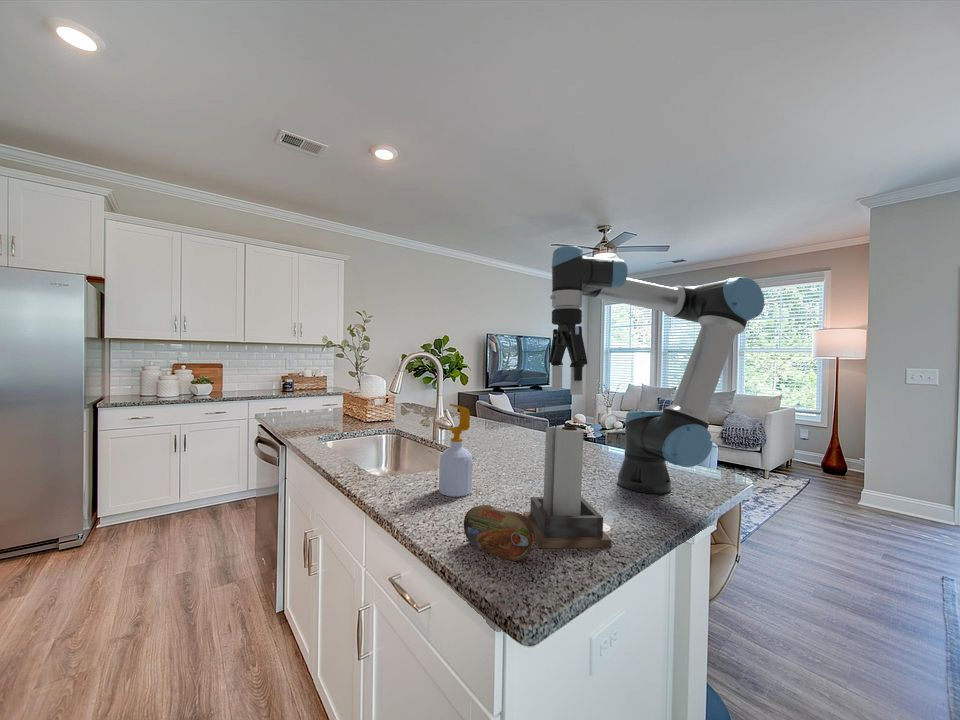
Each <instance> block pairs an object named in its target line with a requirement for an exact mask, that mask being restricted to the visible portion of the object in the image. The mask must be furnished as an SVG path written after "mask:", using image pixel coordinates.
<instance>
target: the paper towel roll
mask: <svg viewBox="0 0 960 720" xmlns="http://www.w3.org/2000/svg"><path fill="white" fill-rule="evenodd" d="M584 433H585V432H584V429H582V428H581V427H573V426H553V427H545V449H544V470H543V473H544V475H543V477H544V478H543V496H542V497H543V508H544V510H545V511H546V512H547V514H548V515H549V516H580V512H581V497H582V483H583V478H582V477H583V451H584Z"/></svg>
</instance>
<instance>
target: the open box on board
mask: <svg viewBox="0 0 960 720" xmlns="http://www.w3.org/2000/svg"><path fill="white" fill-rule="evenodd" d="M543 497H544V496H530V510H529V511H523V516H525V517H526V518H527V519H528V520H529V522H530V523H531V525H532V527H533V529H534V535H535V543H536V545H537V547H538V549H574V548H578V549H579V548H581V549H582V548H583V549H584V548H585V549H587V548H612V539H611V537H609V535H608V534H606V532H605V531H604V516H602V515H601V514H600V513H599V512H598V510H596V509H595V508H594V507H593V506H592V505H591V504H590V503H589V502H588V501H587V500H586V499H585V498H584V497H583V496H581V512H580V516H549V515H548V514H547V512H546V511H545V510H544V508H543Z"/></svg>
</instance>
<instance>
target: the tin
mask: <svg viewBox="0 0 960 720" xmlns="http://www.w3.org/2000/svg"><path fill="white" fill-rule="evenodd" d="M463 531H464V534H465V537H466V540H468V542H469V544H470V545H471V546H472V547H473V548H475V549H477V550H479V551H481V552H485V553H488V554H491V555H495V556H497V557H500V558H503V559H506V560H508V561H513V562H517V561H521V560H523V559H524V558H525V557H526V556H527V555H529V554H530V552H531V551H532V550H533V548H534V545H535V543H536V541H535V535H534V529H533V527H532V525H531V523H530V522H529V520H528V519H527V518H526V517H525V516H524V514H521V512H520V513H519V512H515V511H512V510H508V509H505V508H500V507H497V506H492V505H489V504H480V505H477V506H476V505H475V506H472V507H471V508H470V509H468V511H467V512H466V513H465V515H464V519H463Z"/></svg>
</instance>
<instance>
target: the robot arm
mask: <svg viewBox="0 0 960 720" xmlns="http://www.w3.org/2000/svg"><path fill="white" fill-rule="evenodd" d="M583 252H584V251H583V249H582V248H581V247H580V246H576V245H564V246H559V247H557V248H556V249H554V251H553V253H552V259H551V284H552V287H551V288H552V289H551V292H552V293H551V295H550V296H549V297H550V298H549V299H550V300H551V308H552V311H551V324H552V325H555V326H557V328H553V329H552V339H551V344H550V345H551V347H550V352H549V358H548V363H550V365H551V390H554V391H555V390H557V391H558V390H561V391H562V390H563V366H564V363H563V359H564V355H565V352H566V349H567V352H568V356H569V359H570V364H569V367H570V386H569V387H570V395H571V396H575V395H580V396H581V395H583V377H584V376H583V374H584V373H583V372H584V371H583V369H584V367H585V366H587V365H588V358H587V353H586V347H585V341H584V337H583V327H582V326H581V324H582V322H583V321H582V320H583V315H582V314H583V311H582V309H581V308H583V297H584V296H585V297H590V298H595V299H599V300H600V299H601V300H605V301H610V302H615V303H621V304H625V305H630V306H634V307H640V308H644V309H649V310H654V311H658V312H663V313H664V314H665V315H666V316H667V317H672V318H676V319H680V320H684V321H690V322H694V323H698V324H699V325H700V327H701V328H700V329H699V333H698V335H697V338H696V341H695V343H694V346H693V348H692V351H691V354H690V357H689V359H688V362H687V364H686V367H685V369H684V372H683V375H682V377H681V381H680V382H679V385H678V388H677V391H676V393H675V396H674V399H673V401H672V404H671V405H668V406H666V407H664V409H663V410H662V411H661V410H630V411H628V412H627V413H626V415H625V422H624V425H625V427H624V430H625V432H624V459H623V461H622V464H621V467H620V468H619V471H618V473H617V484H618V485H619V486H621V487H623V488H624V489H627V490H631V491H634V492H638V493H645V494H666V493H669V492H671V490H672V481H671V477H670V474H669V471H668V468H667V465H666V462H667V463H670V464H672V465H673V466H674V465H675V466H680V467H682V468H694V467H697V465H700V464H702V463H703V462H704V461H706V460H707V458H708V457H709V456H710V454H711V452H712V449H713V440H712V439H711V438H712V435H711V432H710V431H709V430H708V429H709V427H710V422H709V421H708V418H707V413H708V410H709V408H710V405H711V403H712V399H713V397H714V395H715V392H716V388H717V386H718V384H719V380H720V378H721V375H722V373H723V370H724V367H725V365H726V362H727V359H728V356H729V354H730V351H731V349H732V347H733V343H734V341H735V338H736V336H737V335H740V334H741V333H743V332H744V331H745V330H746V326H747V324H748V321H749V320H750V321H751V320H754V319H756V318H757V317H759V316H760V315H761V314H762V312H763V310H764V308H765V295H764V292H763V291H762V288H761V286H760V285H759V284H758V283H757V281H755V280H753V279H752V278H749V277H746V276H739V277H729V278H726V279H724V280H720V281H715V282H709V283H705V284H699V285H696V286H695V285H693V286H683V285H679V284H678V285H674V286H672V287H671V286H667V285H661V284H657V283H654V282H653V283H652V282H648V281H643V280H639V279H633V278H630V277H628V271H629V270H628V265H627V263H626V261H625V260H623V259H619V258H615V257H614V258H613V257H610V258H609V257H608V258H607V257H593V256H584V253H583Z"/></svg>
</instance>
